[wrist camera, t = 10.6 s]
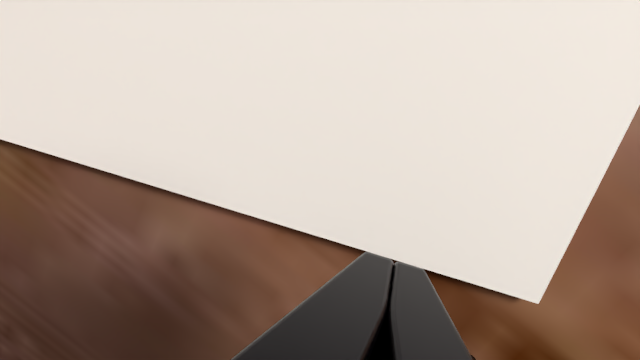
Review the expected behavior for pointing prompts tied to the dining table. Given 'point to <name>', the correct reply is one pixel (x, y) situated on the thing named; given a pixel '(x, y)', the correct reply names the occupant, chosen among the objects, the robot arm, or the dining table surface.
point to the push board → (343, 115)
